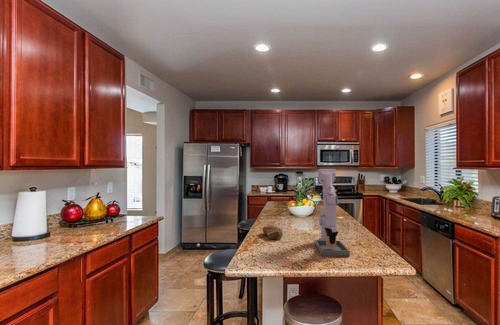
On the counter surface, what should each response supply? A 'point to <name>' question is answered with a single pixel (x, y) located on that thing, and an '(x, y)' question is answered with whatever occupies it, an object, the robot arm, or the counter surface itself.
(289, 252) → the counter surface
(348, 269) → the counter surface
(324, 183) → the robot arm
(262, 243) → the counter surface
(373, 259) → the counter surface
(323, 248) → the charcoal tray
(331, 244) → the ochre block
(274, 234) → the brown rounded lump
